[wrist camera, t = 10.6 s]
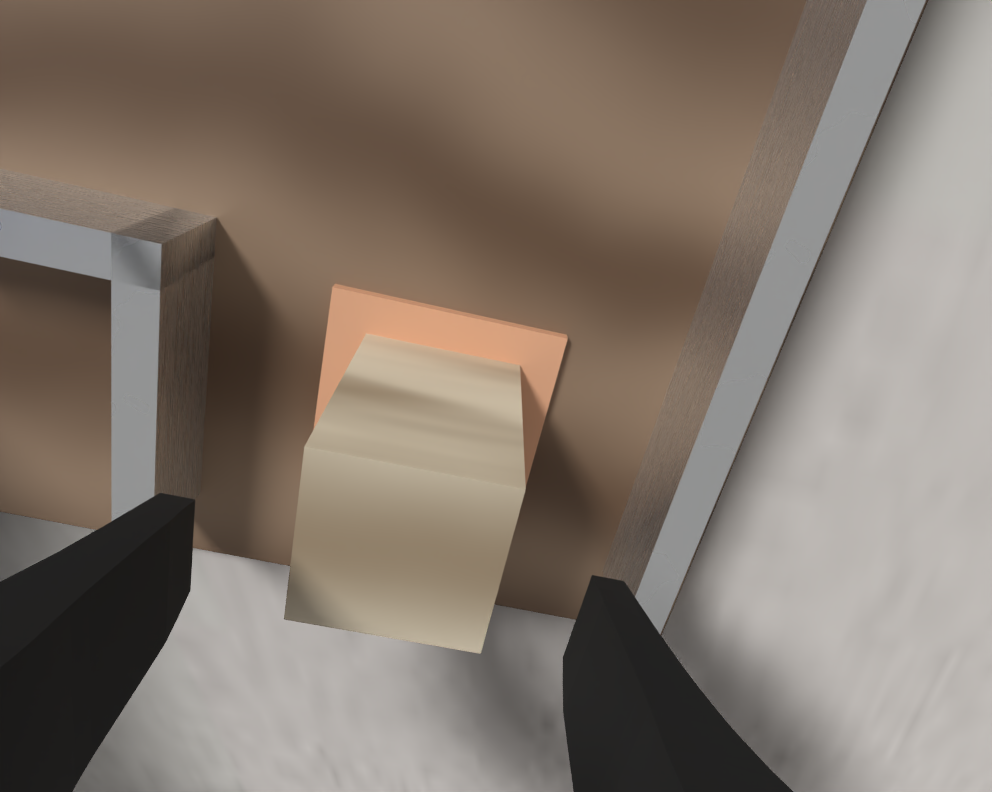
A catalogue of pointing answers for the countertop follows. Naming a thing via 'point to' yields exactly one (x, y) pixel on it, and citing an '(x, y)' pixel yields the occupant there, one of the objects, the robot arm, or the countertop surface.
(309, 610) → the maple block
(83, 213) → the channel walls
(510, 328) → the pad
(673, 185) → the walnut board
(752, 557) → the countertop surface
